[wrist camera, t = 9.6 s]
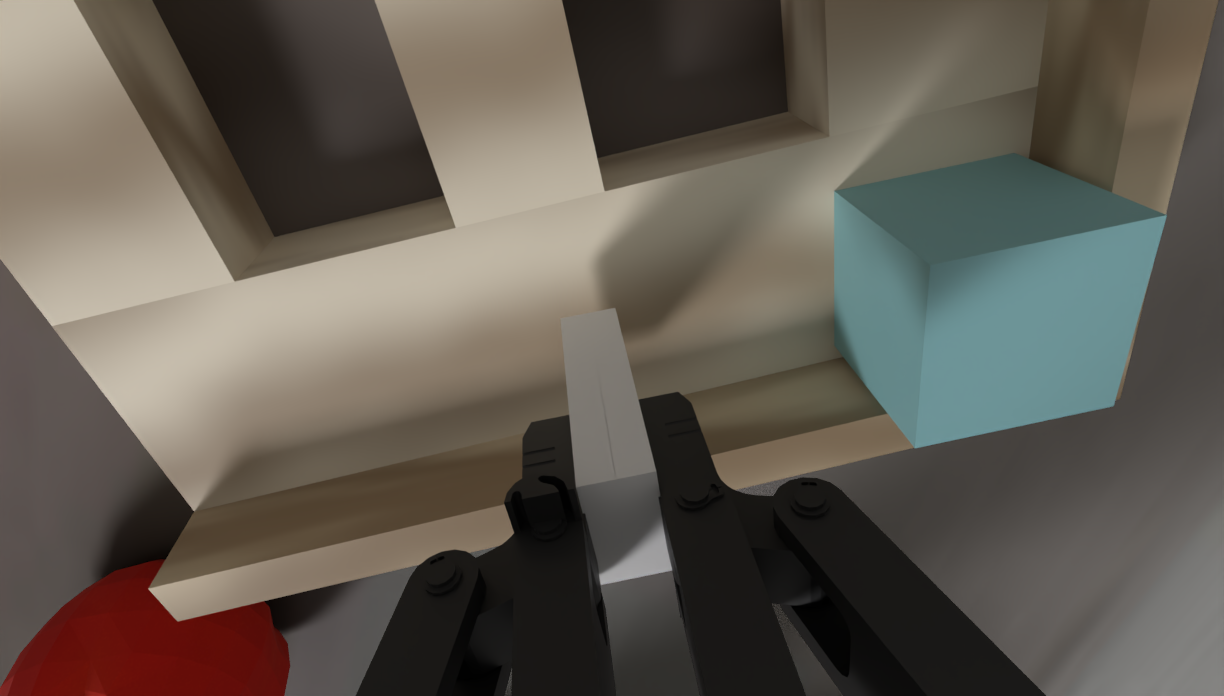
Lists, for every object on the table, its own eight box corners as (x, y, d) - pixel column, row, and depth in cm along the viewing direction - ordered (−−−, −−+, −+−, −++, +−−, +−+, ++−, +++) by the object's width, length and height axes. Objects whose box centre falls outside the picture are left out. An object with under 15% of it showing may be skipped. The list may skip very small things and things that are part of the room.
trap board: (985, 298, 24) (1120, 399, 19) (255, 472, 25) (177, 621, 19) (1049, -328, 16) (1337, -483, 10) (-87, -41, 16) (-414, -38, 10)
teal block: (991, 312, 20) (1113, 406, 16) (834, 345, 20) (915, 448, 16) (1014, 152, 18) (1167, 214, 14) (834, 191, 18) (930, 265, 14)
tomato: (270, 518, 26) (186, 702, 20) (329, 656, 31) (277, 841, 24) (20, 546, 25) (-151, 745, 19) (118, 682, 30) (8, 880, 24)
